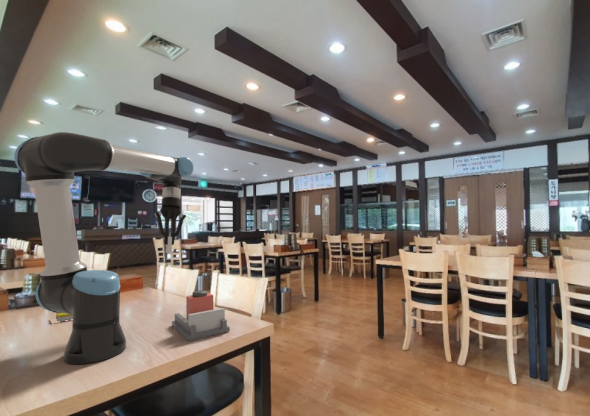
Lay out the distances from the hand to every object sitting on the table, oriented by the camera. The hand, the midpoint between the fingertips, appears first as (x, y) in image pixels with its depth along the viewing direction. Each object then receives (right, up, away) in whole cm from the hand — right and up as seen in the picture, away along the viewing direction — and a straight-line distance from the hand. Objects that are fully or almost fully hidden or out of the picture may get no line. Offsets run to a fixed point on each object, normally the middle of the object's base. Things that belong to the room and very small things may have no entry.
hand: (168, 252), depth 128 cm
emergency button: (-39, -27, -1) cm, 48 cm away
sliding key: (+19, -23, -19) cm, 35 cm away
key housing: (+19, -24, -19) cm, 36 cm away
